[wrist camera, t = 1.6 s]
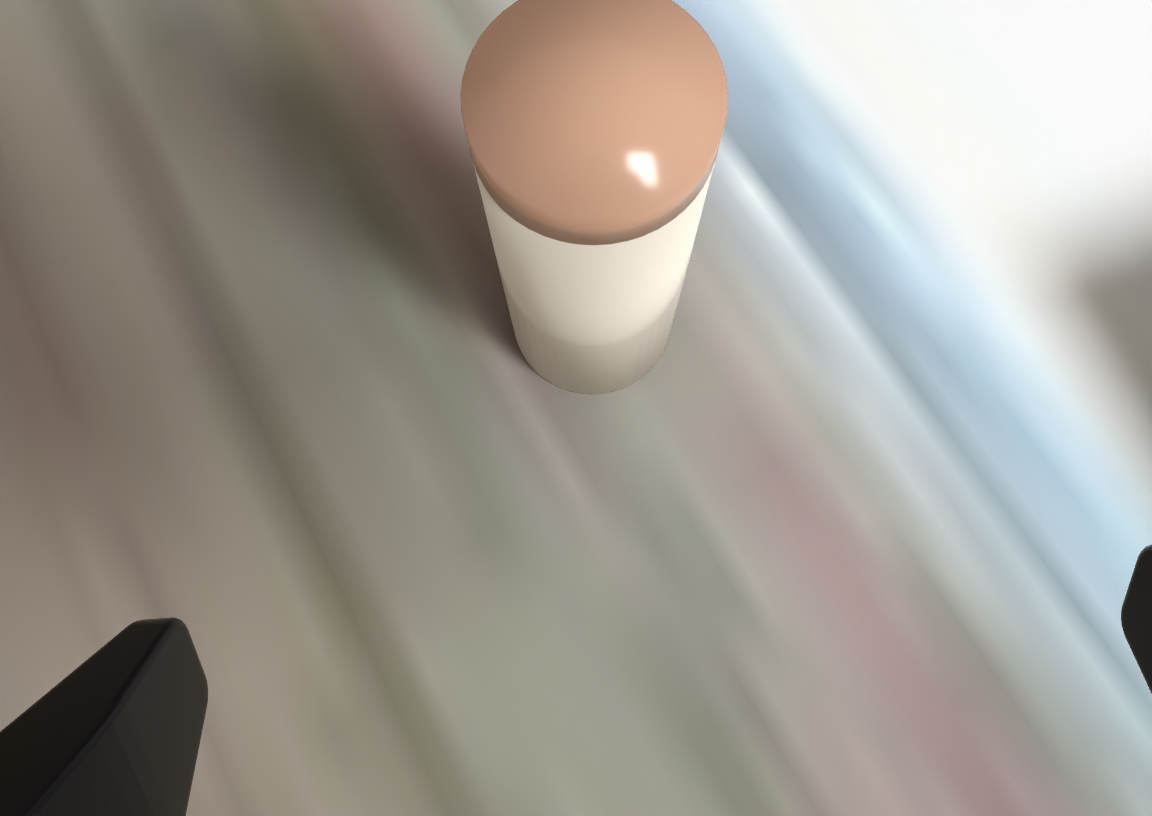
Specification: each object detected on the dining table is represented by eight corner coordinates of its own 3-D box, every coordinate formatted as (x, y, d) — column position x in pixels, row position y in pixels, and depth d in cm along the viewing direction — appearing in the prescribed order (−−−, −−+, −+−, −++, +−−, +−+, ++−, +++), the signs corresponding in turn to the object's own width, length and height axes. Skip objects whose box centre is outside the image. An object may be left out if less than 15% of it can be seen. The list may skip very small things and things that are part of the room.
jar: (548, 418, 23) (518, 257, 13) (489, 277, 24) (422, 31, 14) (696, 358, 23) (772, 159, 14) (633, 222, 24) (663, -56, 15)
